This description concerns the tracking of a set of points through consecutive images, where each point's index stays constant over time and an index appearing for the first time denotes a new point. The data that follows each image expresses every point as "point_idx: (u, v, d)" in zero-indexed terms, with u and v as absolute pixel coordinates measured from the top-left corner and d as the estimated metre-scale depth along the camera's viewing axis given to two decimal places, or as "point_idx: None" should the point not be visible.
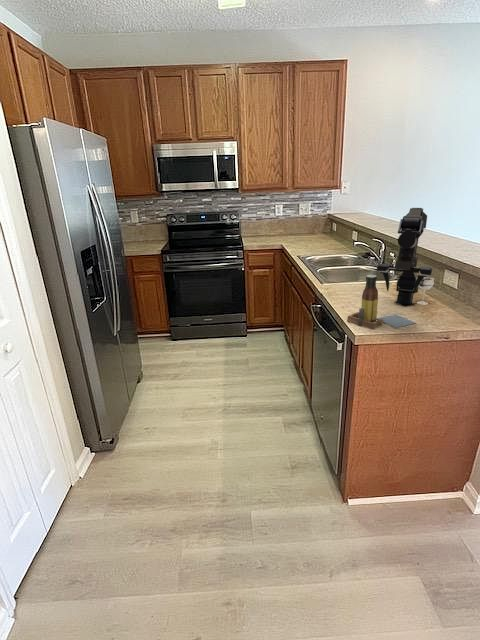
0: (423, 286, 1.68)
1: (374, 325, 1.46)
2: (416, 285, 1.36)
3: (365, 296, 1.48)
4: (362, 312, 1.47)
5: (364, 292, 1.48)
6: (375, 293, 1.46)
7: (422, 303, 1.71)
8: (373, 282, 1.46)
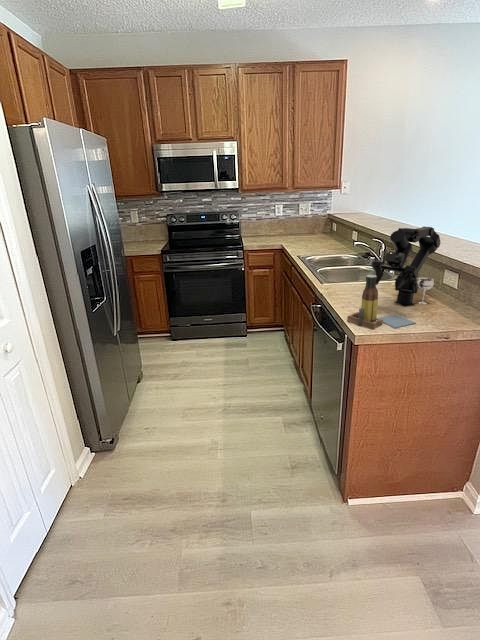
0: (423, 287, 1.68)
1: (374, 325, 1.46)
2: (400, 281, 1.51)
3: (365, 296, 1.48)
4: (362, 312, 1.47)
5: (364, 292, 1.48)
6: (375, 293, 1.46)
7: None
8: (373, 282, 1.46)
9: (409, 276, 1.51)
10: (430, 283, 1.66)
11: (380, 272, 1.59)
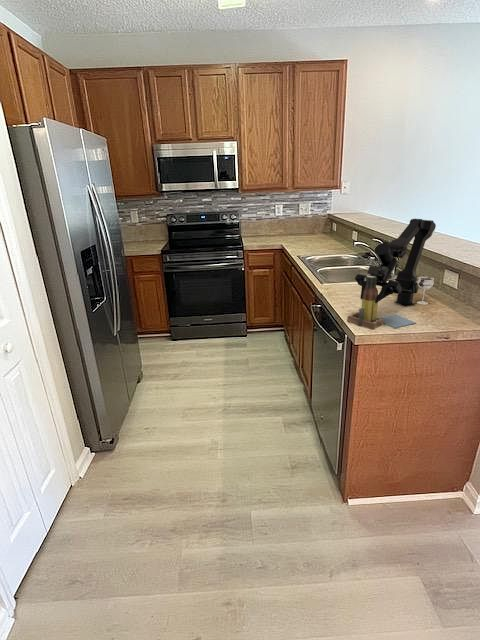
0: (423, 286, 1.68)
1: (374, 325, 1.46)
2: (379, 294, 1.46)
3: (365, 296, 1.48)
4: (362, 312, 1.47)
5: (364, 292, 1.48)
6: (375, 293, 1.46)
7: (422, 303, 1.72)
8: (373, 282, 1.46)
9: (389, 290, 1.46)
10: (430, 282, 1.66)
11: None
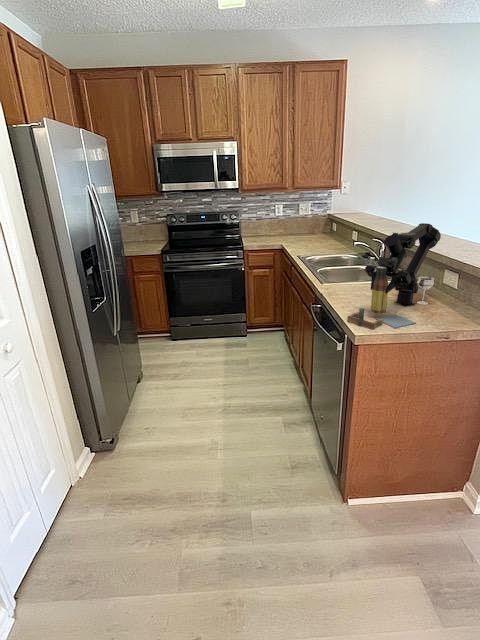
0: (423, 286, 1.68)
1: (374, 325, 1.46)
2: (389, 285, 1.50)
3: (375, 287, 1.51)
4: (362, 312, 1.47)
5: (374, 283, 1.51)
6: (385, 283, 1.50)
7: (422, 303, 1.72)
8: (383, 273, 1.49)
9: (398, 281, 1.50)
10: (430, 282, 1.66)
11: None
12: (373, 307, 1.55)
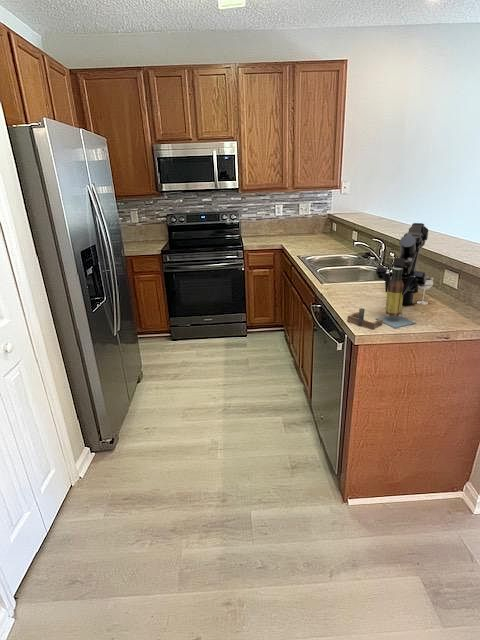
0: (422, 286, 1.68)
1: (374, 325, 1.46)
2: (406, 286, 1.46)
3: (392, 289, 1.47)
4: (362, 312, 1.47)
5: (391, 285, 1.47)
6: (402, 285, 1.46)
7: (422, 303, 1.71)
8: (400, 274, 1.45)
9: (414, 281, 1.47)
10: (429, 282, 1.66)
11: (389, 279, 1.52)
12: (389, 310, 1.50)
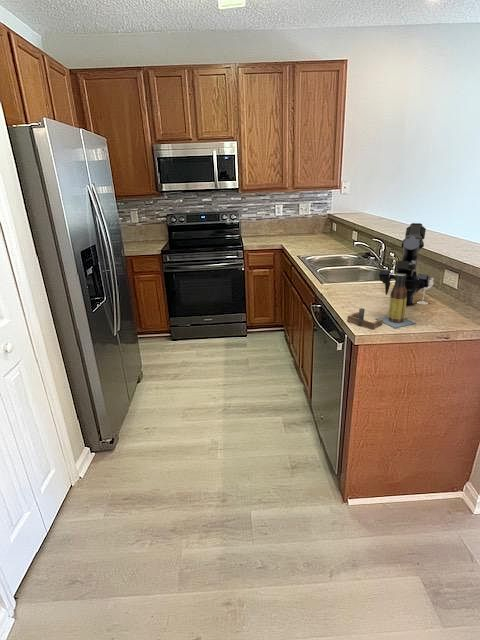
0: None
1: (374, 325, 1.46)
2: (413, 289, 1.45)
3: (396, 295, 1.46)
4: (362, 312, 1.47)
5: (394, 291, 1.47)
6: (405, 291, 1.46)
7: (422, 303, 1.71)
8: (404, 280, 1.45)
9: (421, 285, 1.45)
10: (430, 282, 1.66)
11: (389, 281, 1.52)
12: (392, 316, 1.50)
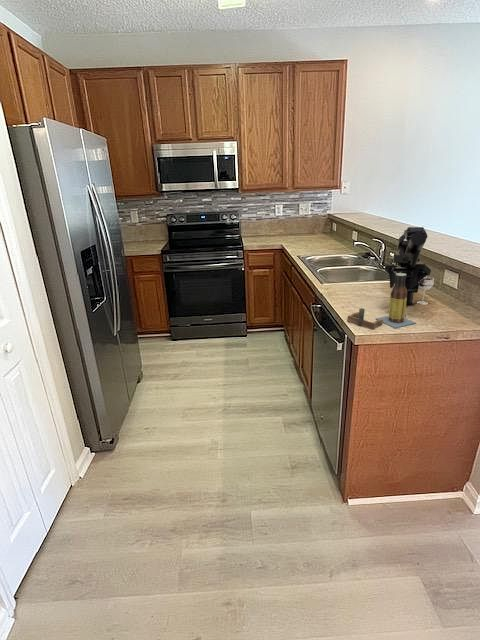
0: (423, 286, 1.68)
1: (374, 325, 1.46)
2: (412, 280, 1.51)
3: (396, 295, 1.46)
4: (362, 312, 1.47)
5: (394, 291, 1.47)
6: (406, 291, 1.46)
7: (422, 303, 1.71)
8: (404, 280, 1.45)
9: (421, 274, 1.50)
10: (430, 282, 1.66)
11: (394, 275, 1.60)
12: (392, 316, 1.50)
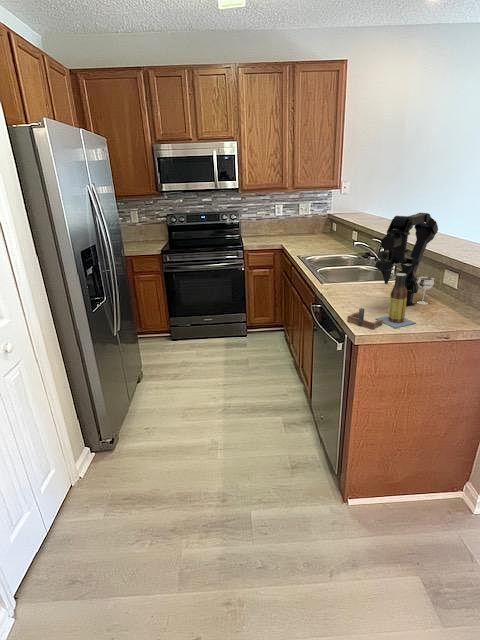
0: (423, 286, 1.68)
1: (374, 325, 1.46)
2: None
3: (396, 295, 1.46)
4: (362, 312, 1.47)
5: (394, 291, 1.47)
6: (406, 291, 1.46)
7: (422, 303, 1.71)
8: (404, 280, 1.45)
9: None
10: (430, 282, 1.66)
11: (404, 268, 1.60)
12: (392, 316, 1.50)
